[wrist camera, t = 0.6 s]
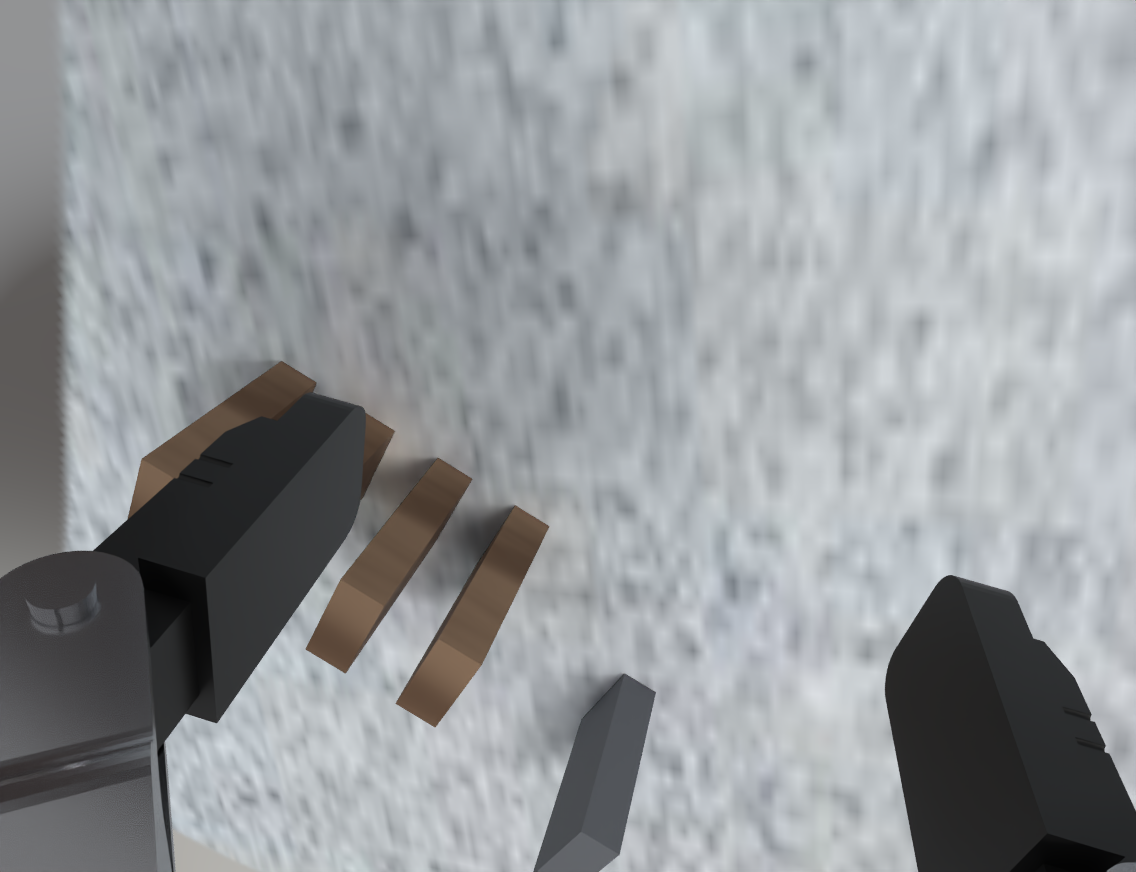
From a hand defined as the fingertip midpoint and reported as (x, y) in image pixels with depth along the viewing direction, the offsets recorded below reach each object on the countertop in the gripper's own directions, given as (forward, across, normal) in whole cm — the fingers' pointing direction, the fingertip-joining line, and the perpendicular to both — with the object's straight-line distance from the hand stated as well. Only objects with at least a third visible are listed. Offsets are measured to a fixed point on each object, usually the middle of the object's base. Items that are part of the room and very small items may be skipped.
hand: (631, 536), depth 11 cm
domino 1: (+23, +17, +16) cm, 33 cm away
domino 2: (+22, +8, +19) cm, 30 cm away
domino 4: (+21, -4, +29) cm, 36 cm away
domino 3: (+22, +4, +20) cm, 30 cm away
